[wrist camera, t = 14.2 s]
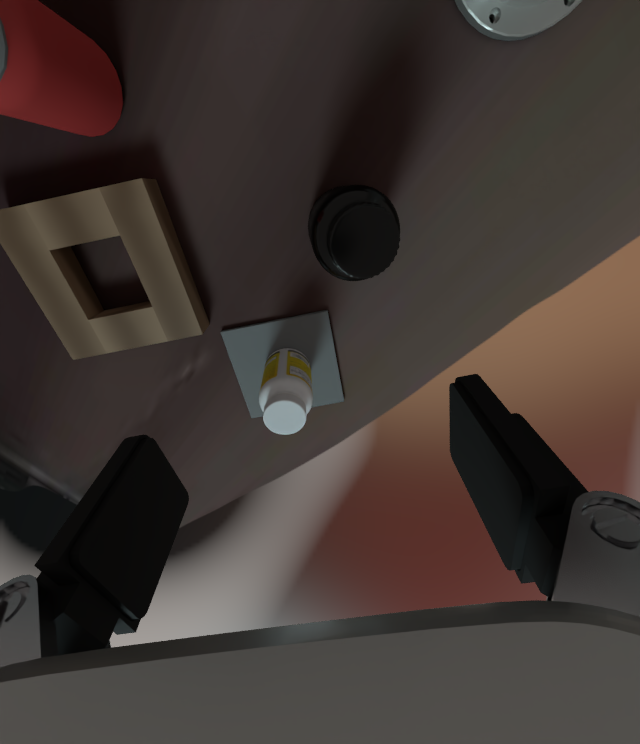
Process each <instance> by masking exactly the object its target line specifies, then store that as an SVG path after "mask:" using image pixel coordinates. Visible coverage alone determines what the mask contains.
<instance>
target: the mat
mask: <svg viewBox="0 0 640 744" xmlns="http://www.w3.org/2000/svg"><path fill="white" fill-rule="evenodd" d="M221 335H222V337H223V340H224V343H225V346H226V349H227V351H228V354H229V357H230V360H231V362H232V365H233V368H234V371H235V374H236V376H237V379H238V382H239V385H240V387H241V390H242V393H243V396H244V398H245V401H246V404H247V407H248V410H249V412H250V415H251V418H256V417H261V416H263V413H264V412H263V411H262V409H261V407H260V404H259V393H260V389H261V383H262V378H263V373H264V367H265V363H266V361H267V359H268V357H269V356H270V355H271V354H272V353H274V352H275V351H277V350H280V349H284V348H291V349H295V350H298V351H300V352H301V353H303V354H304V355H305V356H306V357H307V359H308V360H309V363H310V367H311V378H312V393H313V402H312V406H311V407H316V406H321V405H327V404H332V403H338V402H343V401H344V398H343V392H342V387H341V381H340V376H339V370H338V365H337V359H336V354H335V349H334V343H333V338H332V332H331V327H330V321H329V316H328V311H327V310H324V311H318V312H313V313H308V314H303V315H298V316H293V317H288V318H283V319H278V320H273V321H268V322H263V323H258V324H253V325H248V326H242V327H237V328H232V329H227V330H222V331H221Z"/></svg>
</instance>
